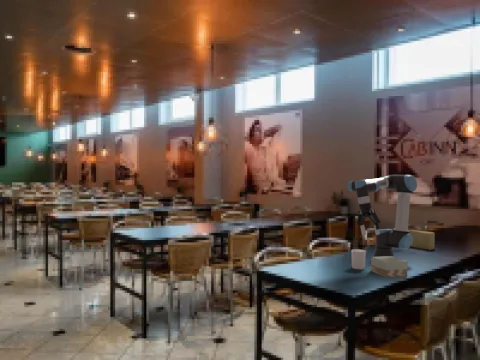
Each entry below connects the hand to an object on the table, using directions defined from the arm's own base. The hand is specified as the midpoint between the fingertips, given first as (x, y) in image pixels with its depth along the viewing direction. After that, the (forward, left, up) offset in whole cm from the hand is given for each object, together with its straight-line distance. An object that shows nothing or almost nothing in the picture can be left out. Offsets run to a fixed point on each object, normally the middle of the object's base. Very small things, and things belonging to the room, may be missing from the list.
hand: (370, 234), depth 273 cm
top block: (-10, +7, -20) cm, 23 cm away
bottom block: (-10, +7, -25) cm, 28 cm away
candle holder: (+2, -10, -25) cm, 27 cm away
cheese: (-97, -72, -25) cm, 123 cm away
